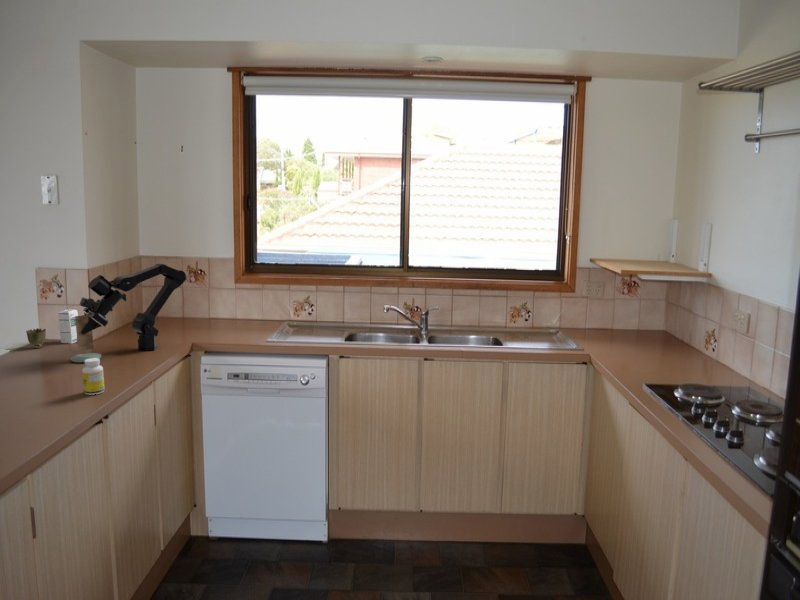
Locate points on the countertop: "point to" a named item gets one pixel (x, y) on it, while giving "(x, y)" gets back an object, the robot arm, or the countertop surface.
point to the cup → (36, 337)
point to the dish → (85, 357)
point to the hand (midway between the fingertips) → (80, 332)
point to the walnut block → (83, 339)
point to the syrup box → (68, 326)
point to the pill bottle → (93, 377)
